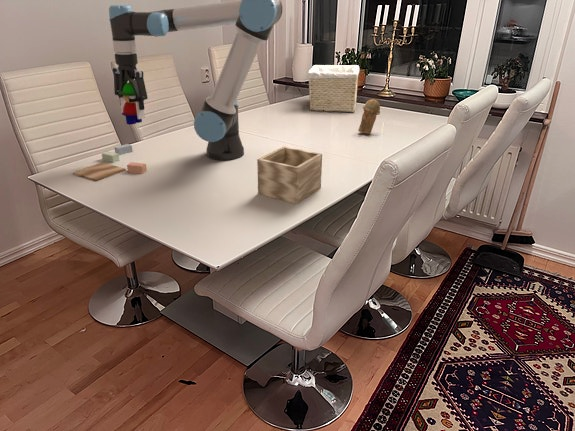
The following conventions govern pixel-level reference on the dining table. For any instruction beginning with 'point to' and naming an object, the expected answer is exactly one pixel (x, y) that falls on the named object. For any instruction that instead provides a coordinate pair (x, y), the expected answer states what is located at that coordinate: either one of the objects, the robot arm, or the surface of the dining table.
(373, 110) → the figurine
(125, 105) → the toy
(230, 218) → the dining table surface
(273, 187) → the birch crate
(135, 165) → the terracotta brick
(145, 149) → the dining table surface
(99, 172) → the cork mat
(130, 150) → the slate brick
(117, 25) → the robot arm
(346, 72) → the basket
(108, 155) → the sage brick
